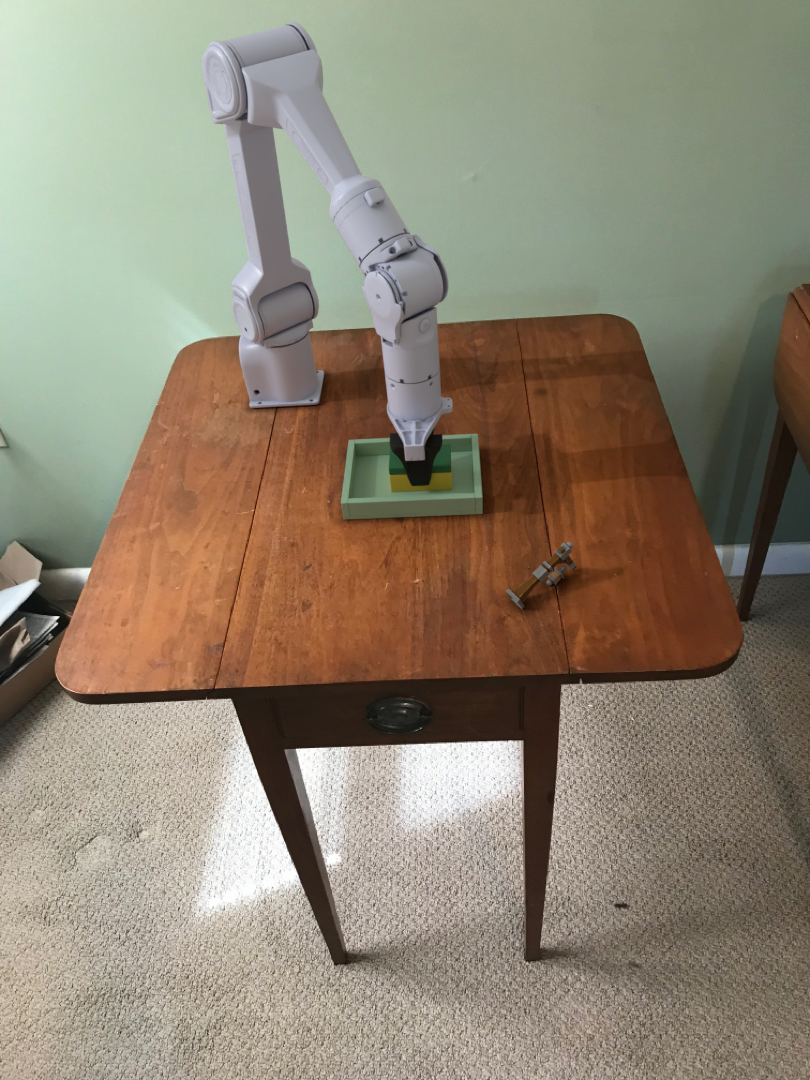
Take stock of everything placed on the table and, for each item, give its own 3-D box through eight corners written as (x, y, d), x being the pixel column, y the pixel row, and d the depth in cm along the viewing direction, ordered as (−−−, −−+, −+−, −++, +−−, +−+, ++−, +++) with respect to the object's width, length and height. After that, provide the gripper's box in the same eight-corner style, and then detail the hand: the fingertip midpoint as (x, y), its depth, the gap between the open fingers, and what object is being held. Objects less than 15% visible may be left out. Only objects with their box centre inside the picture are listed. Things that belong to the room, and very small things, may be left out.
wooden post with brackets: (587, 564, 77) (576, 543, 74) (529, 619, 77) (516, 601, 74) (574, 554, 78) (563, 533, 75) (518, 608, 78) (504, 589, 75)
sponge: (391, 492, 88) (388, 468, 86) (392, 470, 91) (389, 446, 89) (452, 489, 88) (451, 465, 85) (451, 467, 91) (450, 443, 88)
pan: (343, 519, 86) (340, 503, 85) (351, 455, 95) (348, 439, 93) (482, 514, 85) (482, 497, 84) (478, 450, 94) (477, 433, 92)
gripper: (452, 407, 74) (456, 512, 83) (449, 331, 84) (454, 431, 94) (379, 411, 74) (391, 514, 84) (385, 334, 85) (396, 434, 94)
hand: (420, 471), depth 89 cm, fingers closed on sponge, 4 cm apart
